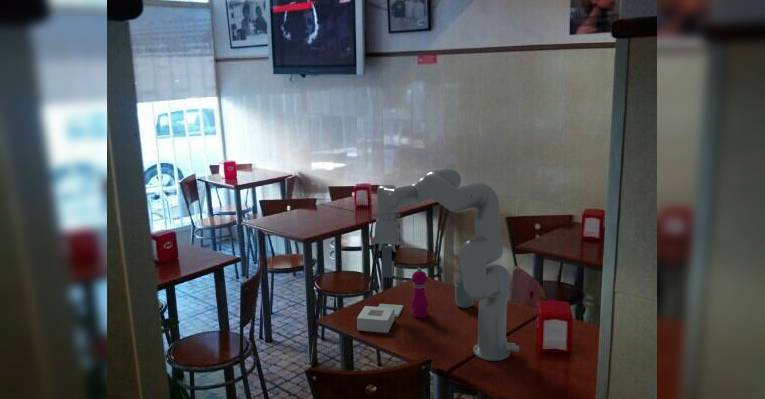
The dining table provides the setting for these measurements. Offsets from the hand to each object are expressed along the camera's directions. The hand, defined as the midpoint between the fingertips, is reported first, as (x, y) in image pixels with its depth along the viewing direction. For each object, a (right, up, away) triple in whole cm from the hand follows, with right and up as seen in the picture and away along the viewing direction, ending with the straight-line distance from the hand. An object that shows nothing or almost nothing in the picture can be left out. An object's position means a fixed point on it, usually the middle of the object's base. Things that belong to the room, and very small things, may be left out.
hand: (387, 259), depth 234 cm
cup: (+32, -21, +8) cm, 39 cm away
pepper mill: (+13, -23, +1) cm, 26 cm away
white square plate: (0, -22, +5) cm, 22 cm away
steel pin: (0, -7, +1) cm, 7 cm away
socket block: (-5, -25, -8) cm, 26 cm away
